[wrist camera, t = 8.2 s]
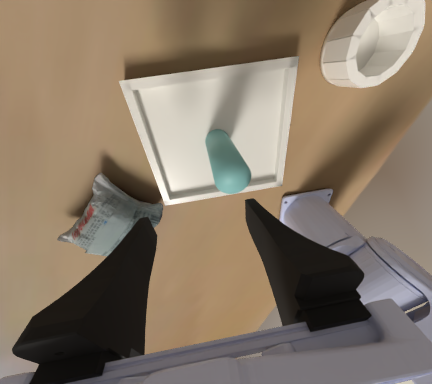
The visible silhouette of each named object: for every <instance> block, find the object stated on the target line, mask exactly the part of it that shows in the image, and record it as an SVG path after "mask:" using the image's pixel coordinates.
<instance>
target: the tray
mask: <svg viewBox="0 0 432 384" xmlns="http://www.w3.org/2000/svg"><path fill="white" fill-rule="evenodd" d="M298 60H299V56H295V57H288V58H281V59H274V60H266V61H259V62H252V63H245V64H238V65H231V66H224V67H216V68H209V69H202V70H195V71H188V72H181V73H173V74H166V75H159V76H152V77H145V78H138V79H130V80H123V81H119V83H120V85H121V88H122V91H123V93H124V96H125V99H126V101H127V104H128V107H129V110H130V112H131V115H132V118H133V120H134V123H135V126H136V128H137V131H138V134H139V136H140V139H141V142H142V144H143V147H144V150H145V152H146V155H147V158H148V161H149V163H150V166H151V169H152V171H153V174H154V177H155V179H156V182H157V185H158V187H159V190H160V193H161V195H162V198H163V201H164V203H165V206H166V205H172V204H178V203H184V202H190V201H196V200H201V199H207V198H213V197H219V196H225V195H231V194H226V193H223V192H221V191H220V190H219V189H218V188H217V187H216V185H215V182H214V178H213V173H212V169H211V165H210V161H209V157H208V152H207V148H206V144H205V140H206V137H207V135H208V134H209V132H211V131H212V130H215V129H221V130H223V131H225V132H226V133H227V134H228V136H229V137H230V139H231V140H232V142H233V144H234V145H235V147H236V148H237V150H238V151H239V153H240V154H241V156H242V158H243V159H244V161H245V162H246V164H247V165H248V167H249V169H250V171H251V180H250V183H249V184H248V186H247V187H246V188H245V189H244V190H242V191H240V192H238V193H242V192H248V191H254V190H260V189H266V188H271V187H277V186H282V182H283V174H284V166H285V159H286V151H287V143H288V136H289V128H290V121H291V113H292V105H293V98H294V90H295V82H296V75H297V67H298ZM235 194H236V193H235Z"/></svg>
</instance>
